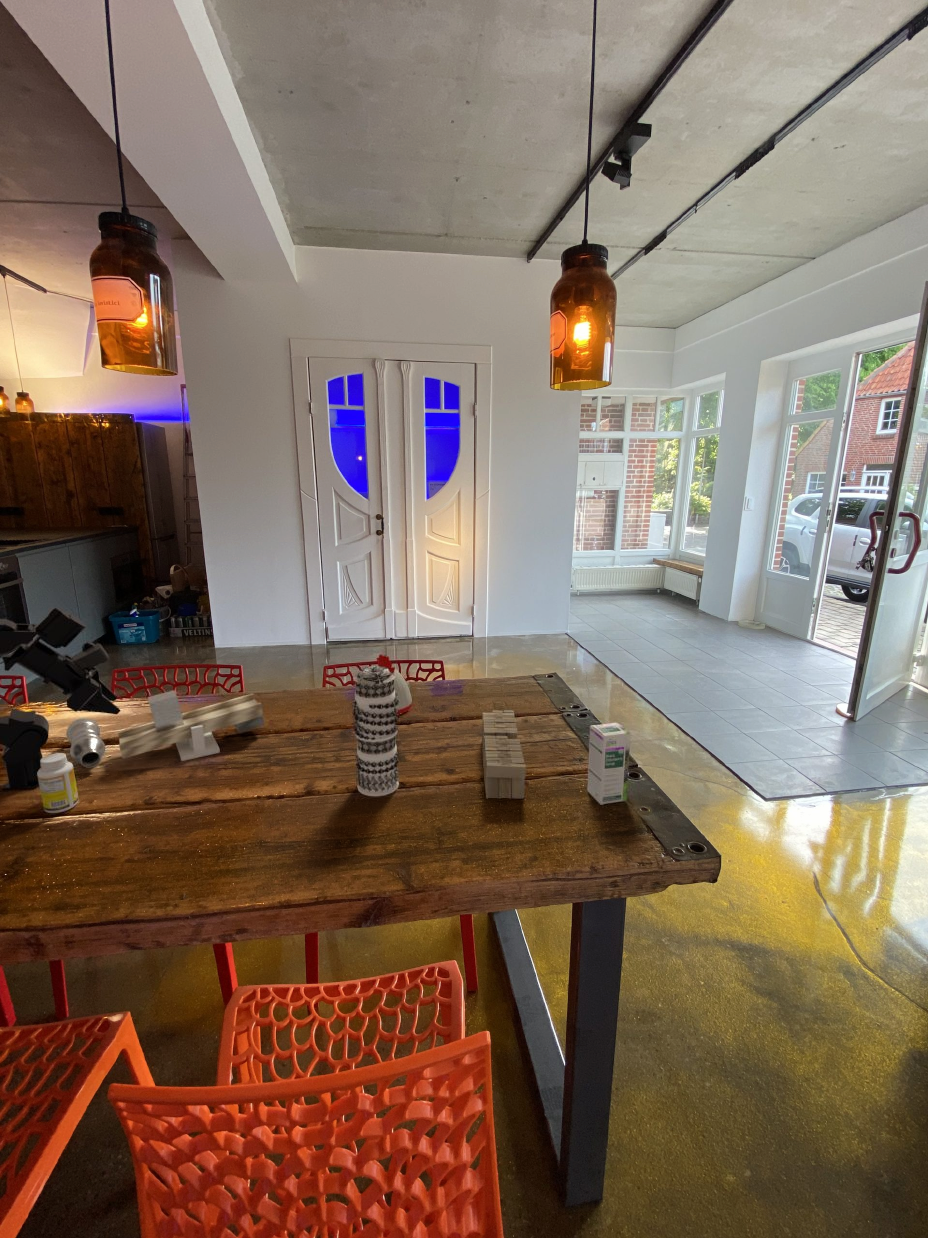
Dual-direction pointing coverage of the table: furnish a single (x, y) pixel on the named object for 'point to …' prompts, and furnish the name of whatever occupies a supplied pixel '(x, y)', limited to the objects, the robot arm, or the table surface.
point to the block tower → (502, 756)
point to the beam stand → (197, 744)
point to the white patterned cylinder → (376, 731)
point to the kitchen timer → (398, 685)
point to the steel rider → (165, 711)
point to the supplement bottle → (57, 783)
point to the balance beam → (212, 718)
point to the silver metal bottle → (85, 742)
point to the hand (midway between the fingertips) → (117, 705)
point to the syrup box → (608, 763)
